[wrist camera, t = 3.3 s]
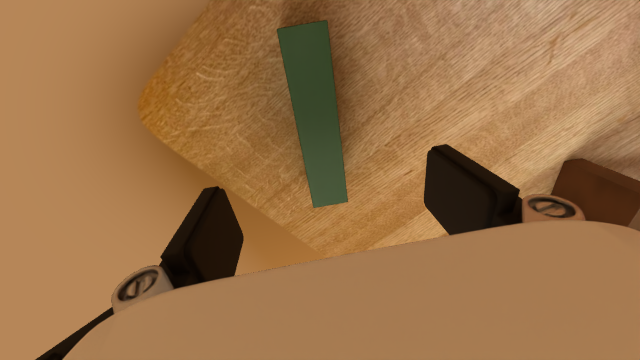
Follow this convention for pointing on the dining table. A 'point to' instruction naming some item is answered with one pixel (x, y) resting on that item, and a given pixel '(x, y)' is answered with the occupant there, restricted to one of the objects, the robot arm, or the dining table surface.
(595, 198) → the rod stand
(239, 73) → the dining table surface
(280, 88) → the dining table surface
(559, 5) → the dining table surface
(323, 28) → the green bar
